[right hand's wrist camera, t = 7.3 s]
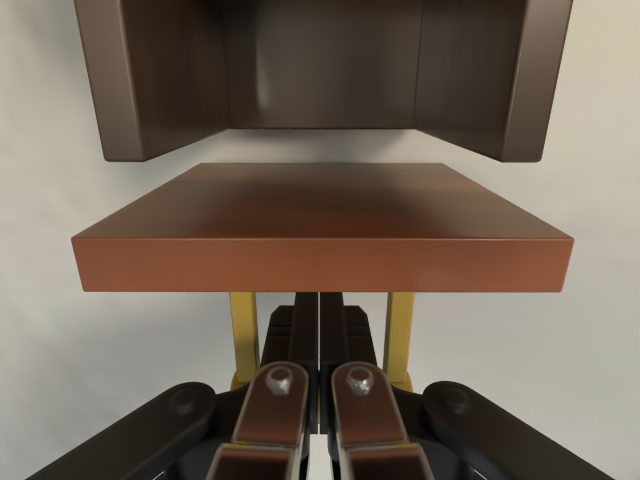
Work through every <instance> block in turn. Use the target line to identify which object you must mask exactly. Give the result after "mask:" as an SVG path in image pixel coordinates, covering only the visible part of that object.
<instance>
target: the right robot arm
mask: <svg viewBox="0 0 640 480" xmlns="http://www.w3.org/2000/svg"><path fill="white" fill-rule="evenodd" d="M310 434H318V292H296V296H295V304H294V305H280V306H279V307H278V308H277V309H276V310H275V311H274V312H273V313H272V314H271V317H270V322H269V327H268V331H267V336H266V341H265V345H264V350H263V355H262V359H261V364H260V368H259V369H258V370H257V371H256V372H255V374H254V375H253V377H252V380H251V381H250V382H249V383H247V384H246V385H244V386H242V387H240V388H238V389H235V390H232V391H228V392H224V393H220V394H215V391H214V390H213V389H212V388H211V387H210V386H209V385H207V384H204V383H200V382H187V383H182V384H179V385H176V386H174V387H171V388H170V389H168V390H166V391H165V392H163V393H161V394H160V395H158V396H157V397H155V398H153V399H152V400H150V401H149V402H147V403H146V404H144V405H142V406H141V407H139V408H138V409H136V410H134V411H133V412H131V413H130V414H128V415H127V416H125V417H123V418H122V419H120V420H119V421H117V422H116V423H114V424H112V425H111V426H109V427H108V428H106V429H104V430H103V431H101V432H100V433H98V434H97V435H95V436H93V437H92V438H90V439H89V440H87V441H85V442H84V443H82V444H81V445H79V446H78V447H76V448H74V449H73V450H71V451H70V452H68V453H67V454H65V455H63V456H62V457H60V458H59V459H57V460H55V461H54V462H52V463H51V464H49V465H48V466H46V467H44V468H43V469H41V470H40V471H38V472H36V473H35V474H33V475H32V476H30V477H29V478H27V479H25V480H153V479H154V478H155V477H157V476H158V475H159V474H160V473H162V472H163V473H162V474H161V475H160V476H158V477H157V478H156V479H155V480H308V476H309V467H310ZM320 434H327V435H328V452H329V455H330V466H331V475H332V480H485V479H484V478H483V477H485V478H486V479H487V480H615V479H613V478H611V477H610V476H608V475H607V474H605V473H604V472H602V471H600V470H599V469H597V468H596V467H594V466H592V465H591V464H589V463H588V462H586V461H585V460H583V459H581V458H580V457H578V456H577V455H575V454H574V453H572V452H570V451H569V450H567V449H566V448H564V447H562V446H561V445H559V444H558V443H556V442H555V441H553V440H551V439H550V438H548V437H547V436H545V435H543V434H542V433H540V432H539V431H537V430H536V429H534V428H532V427H531V426H529V425H528V424H526V423H525V422H523V421H521V420H520V419H518V418H517V417H515V416H513V415H512V414H510V413H509V412H507V411H506V410H504V409H502V408H501V407H499V406H498V405H496V404H494V403H493V402H491V401H490V400H488V399H487V398H485V397H483V396H482V395H480V394H479V393H477V392H475V391H474V390H472V389H471V388H469V387H467V386H465V385H463V384H460V383H456V382H451V381H439V382H435V383H432V384H430V385H429V386H427V387H426V388H425V390H424V392H423V395H421V394H417V393H412V392H408V391H405V390H401V389H399V388H397V387H395V386H393V385H391V384H390V383H389V380H388V377H387V375H386V374H385V372H384V371H383V370H382V369H380V368H379V367H378V366H377V361H376V356H375V351H374V346H373V342H372V337H371V332H370V327H369V322H368V317H367V314H366V313H365V312H364V311H363V310H362V309H361V308H360V307H359V306H344V304H343V295H342V292H320ZM474 469H475V470H476V471H477V472H478V473H480V474H481V475H482V476H483V477H482V476H480V475H479V474H478V473H477V472H475V471H474Z"/></svg>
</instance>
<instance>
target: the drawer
mask: <svg viewBox="0 0 640 480" xmlns="http://www.w3.org/2000/svg"><path fill="white" fill-rule="evenodd" d="M74 4H75V10H76V15H77V20H78V25H79V30H80V36H81V41H82V46H83V51H84V56H85V61H86V67H87V72H88V77H89V82H90V87H91V93H92V98H93V103H94V108H95V113H96V119H97V124H98V129H99V134H100V139H101V145H102V150H103V155H104V159H105V161H108V162H145V161H148V160H150V159H153V158H155V157H158V156H161V155H163V154H166V153H168V152H171V151H174V150H176V149H179V148H181V147H184V146H187V145H189V144H192V143H194V142H197V141H200V140H202V139H205V138H207V137H210V136H213V135H215V134H218V133H220V132H223V131H226V130H228V129H415V130H417V131H420V132H423V133H425V134H428V135H431V136H433V137H436V138H438V139H441V140H444V141H446V142H449V143H452V144H454V145H457V146H460V147H462V148H465V149H468V150H470V151H473V152H476V153H478V154H481V155H484V156H486V157H489V158H492V159H494V160H497V161H500V162H519V163H536V162H539V161H540V160H541V158H542V153H543V148H544V144H545V139H546V134H547V129H548V124H549V119H550V114H551V109H552V104H553V99H554V94H555V89H556V84H557V79H558V74H559V69H560V64H561V59H562V54H563V49H564V44H565V39H566V34H567V29H568V24H569V19H570V14H571V9H572V4H573V0H74ZM71 242H72V246H73V250H74V254H75V258H76V262H77V267H78V271H79V275H80V279H81V283H82V287H83V291H85V292H230V303H231V314H232V325H233V336H234V347H235V358H236V369H237V371H236V372H235V374H234V376H233V379H232V383H231V389H230V391H232V390H235V389H238V388H240V387H242V386H244V385H246V384H247V383H249V382H250V381H251V380H252V377H253V375H254V374H255V372H256V371H257V370H258V369H259V368H260V356H259V341H258V326H257V310H256V295H255V292H388V300H387V314H386V329H385V343H384V357H383V371H384V372H385V374H386V375H387V377H388V380H389V383H390V384H391V385H393V386H395V387H397V388H399V389H401V390H405V391H408V392H412V393H413V388H412V383H411V379H410V376H409V374H408V372H407V363H408V353H409V343H410V333H411V323H412V312H413V302H414V292H561V291H562V288H563V284H564V280H565V276H566V272H567V268H568V264H569V260H570V256H571V252H572V248H573V244H574V238H572V237H571V236H569V235H567V234H565V233H564V232H562V231H560V230H558V229H557V228H555V227H553V226H551V225H550V224H548V223H546V222H544V221H543V220H541V219H539V218H537V217H536V216H534V215H532V214H530V213H529V212H527V211H525V210H523V209H522V208H520V207H518V206H516V205H514V204H513V203H511V202H509V201H507V200H506V199H504V198H502V197H500V196H499V195H497V194H495V193H493V192H492V191H490V190H488V189H486V188H485V187H483V186H481V185H479V184H478V183H476V182H474V181H472V180H471V179H469V178H467V177H465V176H464V175H462V174H460V173H458V172H457V171H455V170H453V169H451V168H449V167H448V166H446V165H444V164H442V163H200V164H198V165H196V166H195V167H193V168H191V169H189V170H188V171H186V172H184V173H183V174H181V175H179V176H177V177H176V178H174V179H172V180H170V181H169V182H167V183H165V184H163V185H162V186H160V187H158V188H156V189H155V190H153V191H151V192H150V193H148V194H146V195H144V196H143V197H141V198H139V199H137V200H136V201H134V202H132V203H130V204H129V205H127V206H125V207H124V208H122V209H120V210H118V211H117V212H115V213H113V214H111V215H110V216H108V217H106V218H104V219H103V220H101V221H99V222H97V223H96V224H94V225H92V226H91V227H89V228H87V229H85V230H84V231H82V232H80V233H78V234H77V235H75V236H73V237H72V238H71ZM318 424H320V370H318Z"/></svg>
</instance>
